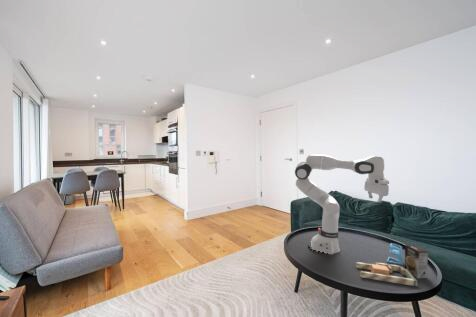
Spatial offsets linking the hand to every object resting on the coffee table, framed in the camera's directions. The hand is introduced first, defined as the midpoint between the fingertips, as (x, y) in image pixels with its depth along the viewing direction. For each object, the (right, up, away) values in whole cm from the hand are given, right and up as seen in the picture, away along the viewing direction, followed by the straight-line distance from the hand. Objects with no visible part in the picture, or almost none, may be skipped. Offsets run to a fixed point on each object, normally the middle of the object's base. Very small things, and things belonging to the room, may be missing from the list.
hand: (375, 199), depth 143 cm
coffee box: (+14, -42, -16) cm, 47 cm away
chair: (+12, -41, -3) cm, 43 cm away
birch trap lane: (-6, -42, -17) cm, 45 cm away
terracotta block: (-9, -42, -18) cm, 46 cm away
